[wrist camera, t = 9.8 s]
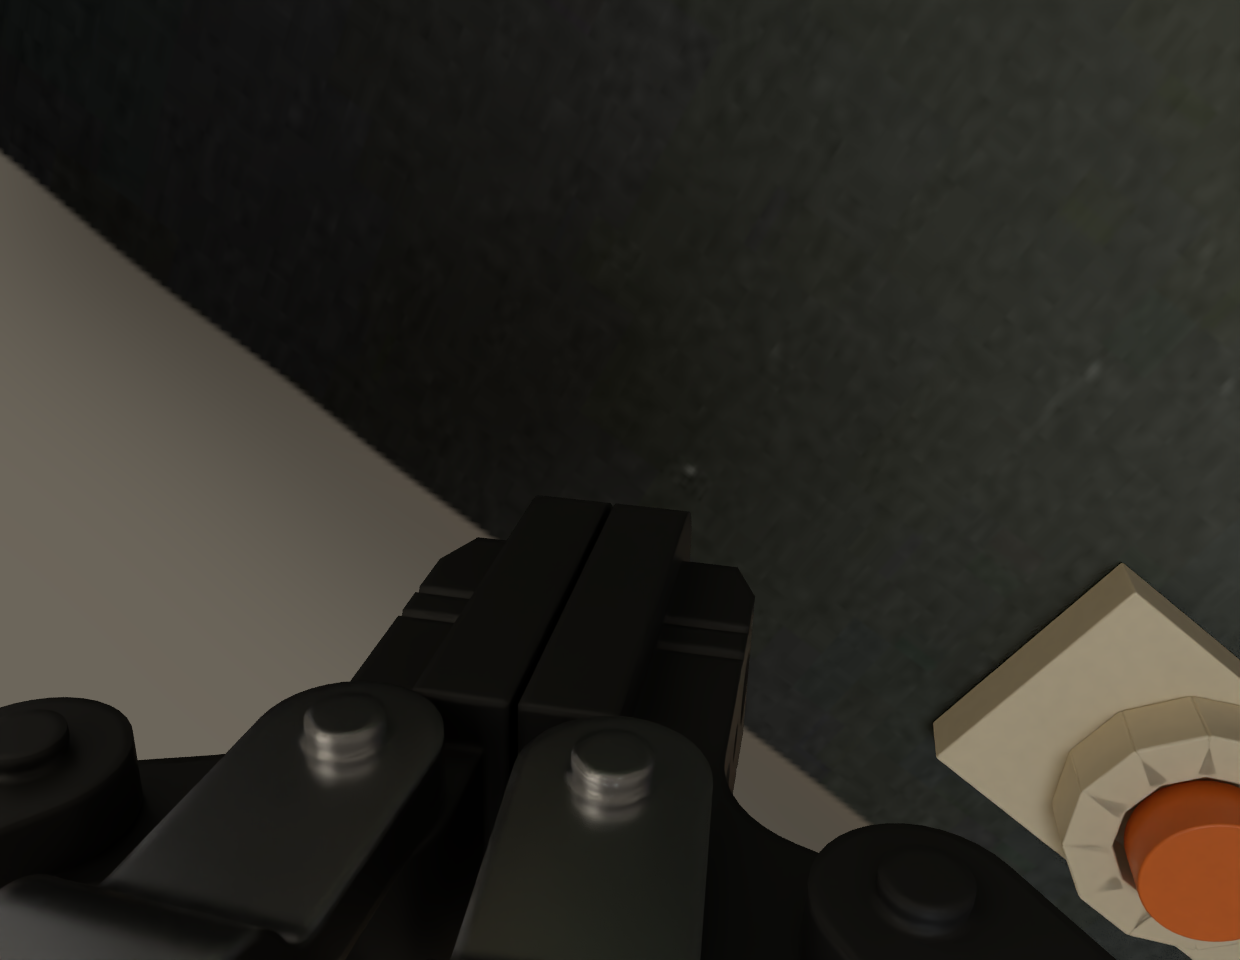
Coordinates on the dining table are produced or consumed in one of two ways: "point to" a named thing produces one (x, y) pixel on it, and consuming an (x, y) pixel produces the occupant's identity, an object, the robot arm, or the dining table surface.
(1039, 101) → the dining table surface
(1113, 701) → the panel
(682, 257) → the dining table surface
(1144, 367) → the dining table surface
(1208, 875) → the button
